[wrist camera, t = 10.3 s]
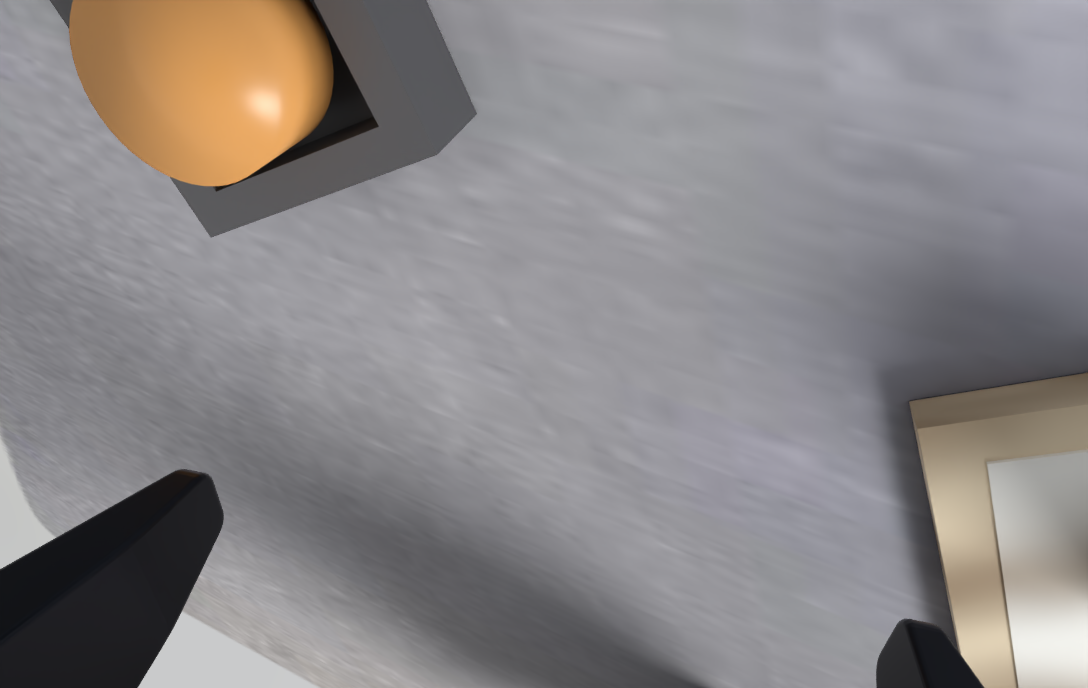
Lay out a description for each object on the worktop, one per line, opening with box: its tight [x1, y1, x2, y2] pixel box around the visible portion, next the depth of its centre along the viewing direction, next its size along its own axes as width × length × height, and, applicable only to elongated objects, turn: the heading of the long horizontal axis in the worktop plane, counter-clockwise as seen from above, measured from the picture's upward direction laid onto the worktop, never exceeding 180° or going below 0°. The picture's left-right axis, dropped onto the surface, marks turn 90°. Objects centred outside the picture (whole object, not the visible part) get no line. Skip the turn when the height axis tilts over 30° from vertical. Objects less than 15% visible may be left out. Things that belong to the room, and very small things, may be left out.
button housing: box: [50, 0, 477, 237], centre depth 17 cm, size 7×7×3 cm
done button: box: [69, 0, 334, 186], centre depth 15 cm, size 4×4×2 cm
